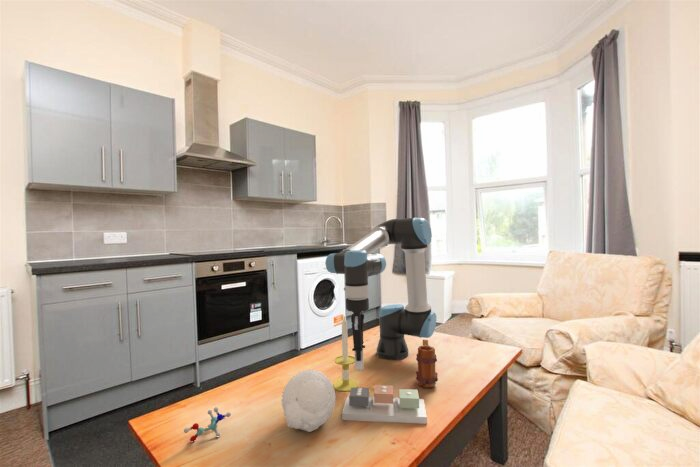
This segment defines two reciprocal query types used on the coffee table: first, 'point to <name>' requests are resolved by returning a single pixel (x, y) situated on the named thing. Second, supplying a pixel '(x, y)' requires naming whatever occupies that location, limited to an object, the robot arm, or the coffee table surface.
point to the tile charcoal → (359, 397)
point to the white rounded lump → (308, 400)
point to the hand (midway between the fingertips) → (359, 369)
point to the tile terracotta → (383, 394)
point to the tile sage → (408, 398)
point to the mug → (426, 365)
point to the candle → (345, 364)
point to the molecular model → (211, 426)
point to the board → (385, 412)
